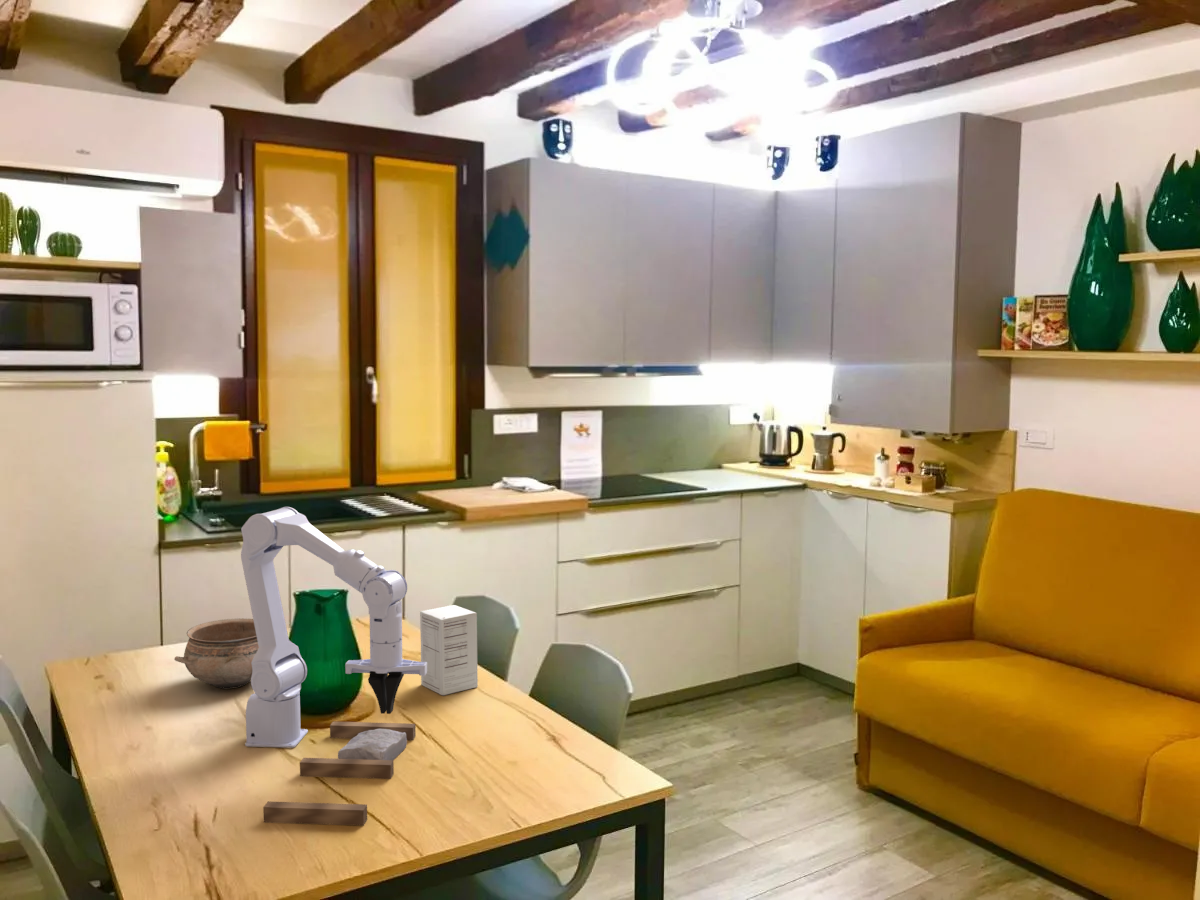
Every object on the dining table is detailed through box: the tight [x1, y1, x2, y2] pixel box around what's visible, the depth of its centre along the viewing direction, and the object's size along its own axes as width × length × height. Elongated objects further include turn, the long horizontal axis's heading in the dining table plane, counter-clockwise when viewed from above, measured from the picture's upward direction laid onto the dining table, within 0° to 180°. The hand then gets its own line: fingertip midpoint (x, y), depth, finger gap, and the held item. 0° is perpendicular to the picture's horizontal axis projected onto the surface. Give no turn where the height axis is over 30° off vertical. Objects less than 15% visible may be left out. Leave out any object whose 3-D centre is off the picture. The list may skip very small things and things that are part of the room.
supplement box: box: [419, 604, 479, 696], centre depth 223 cm, size 10×9×17 cm
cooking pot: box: [174, 618, 259, 690], centre depth 223 cm, size 25×19×12 cm
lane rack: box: [262, 721, 416, 826], centre depth 178 cm, size 16×36×2 cm, turn 177°
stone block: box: [337, 729, 408, 761], centre depth 186 cm, size 12×5×10 cm
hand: (386, 711), depth 185 cm, fingers closed
